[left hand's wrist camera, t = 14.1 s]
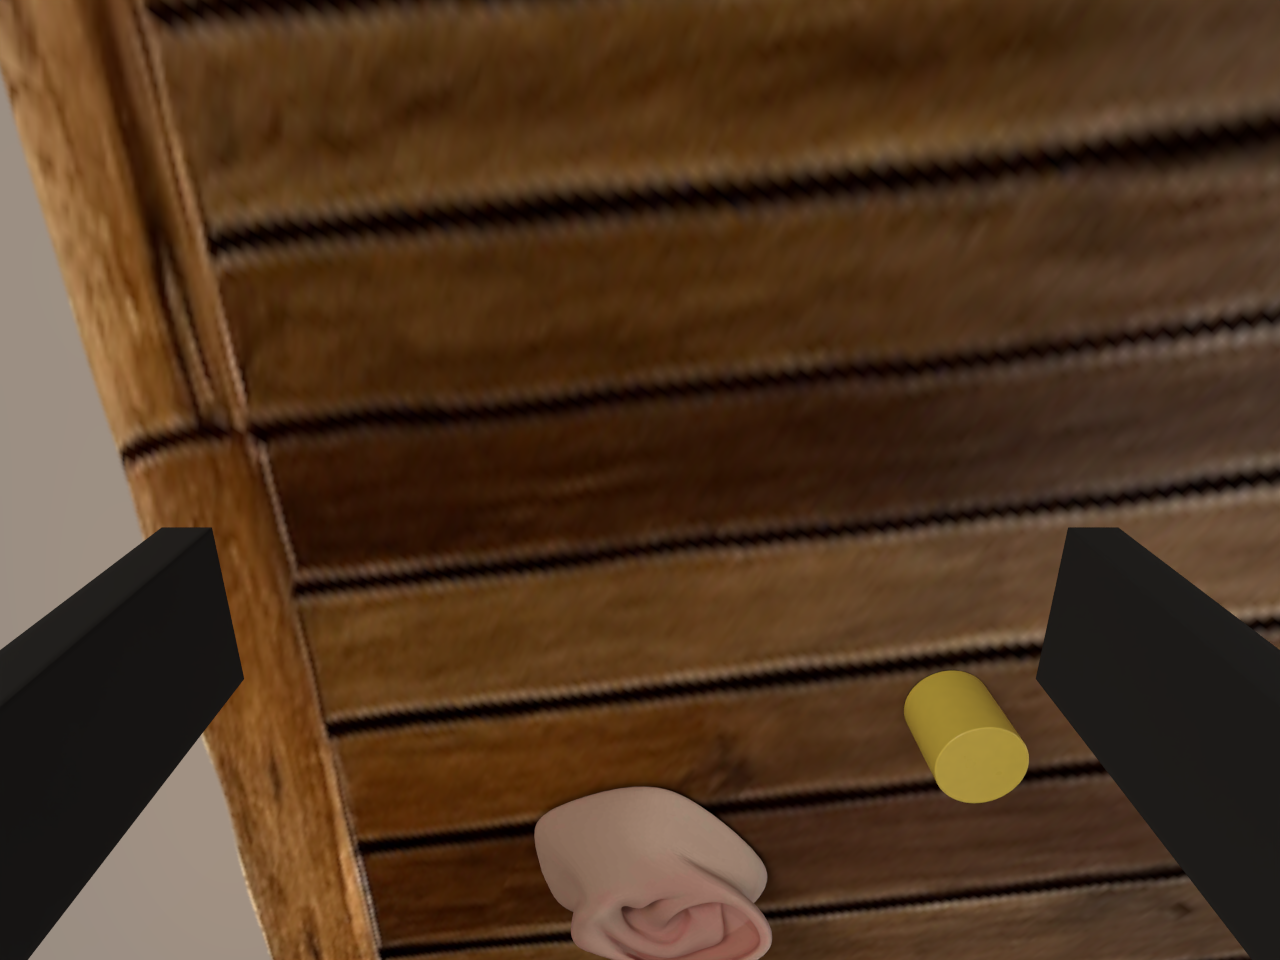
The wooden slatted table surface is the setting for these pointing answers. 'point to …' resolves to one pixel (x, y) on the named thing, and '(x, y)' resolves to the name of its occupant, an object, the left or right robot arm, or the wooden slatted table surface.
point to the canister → (965, 737)
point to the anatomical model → (653, 878)
